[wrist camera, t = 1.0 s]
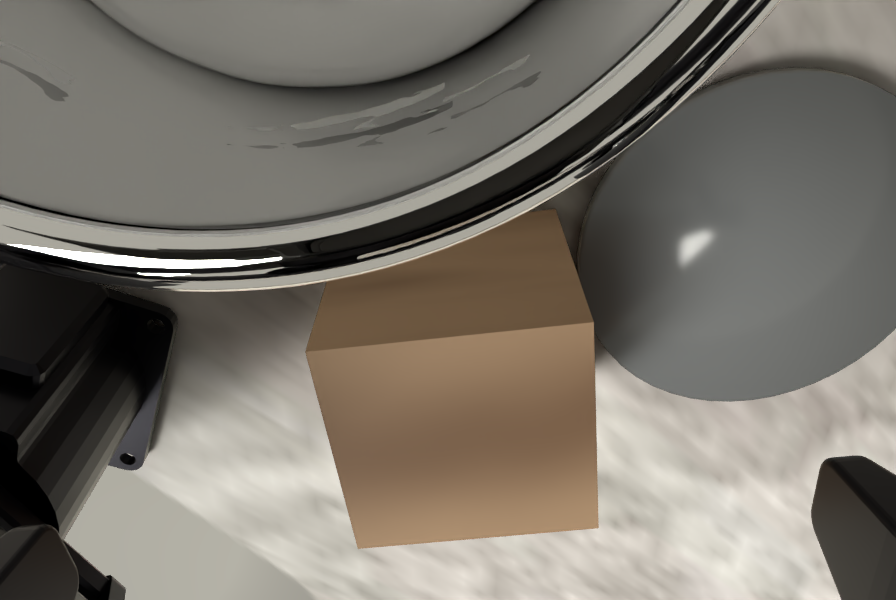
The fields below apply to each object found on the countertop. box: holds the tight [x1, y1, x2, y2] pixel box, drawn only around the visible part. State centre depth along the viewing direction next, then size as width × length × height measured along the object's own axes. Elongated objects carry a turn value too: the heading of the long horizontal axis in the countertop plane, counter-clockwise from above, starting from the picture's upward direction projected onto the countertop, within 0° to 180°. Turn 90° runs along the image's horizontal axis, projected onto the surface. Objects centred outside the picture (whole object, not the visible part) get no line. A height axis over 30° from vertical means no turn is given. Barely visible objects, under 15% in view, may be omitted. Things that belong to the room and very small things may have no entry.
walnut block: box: [305, 209, 598, 549], centre depth 19 cm, size 6×6×6 cm
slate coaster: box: [577, 67, 896, 401], centre depth 20 cm, size 10×10×1 cm
